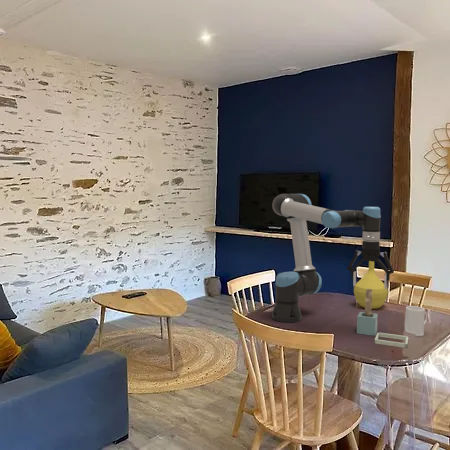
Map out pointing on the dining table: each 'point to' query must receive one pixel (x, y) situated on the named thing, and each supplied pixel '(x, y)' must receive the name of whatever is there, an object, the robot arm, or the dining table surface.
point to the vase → (370, 283)
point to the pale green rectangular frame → (391, 341)
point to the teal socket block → (367, 324)
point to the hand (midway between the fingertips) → (369, 287)
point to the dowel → (368, 303)
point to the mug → (415, 320)
